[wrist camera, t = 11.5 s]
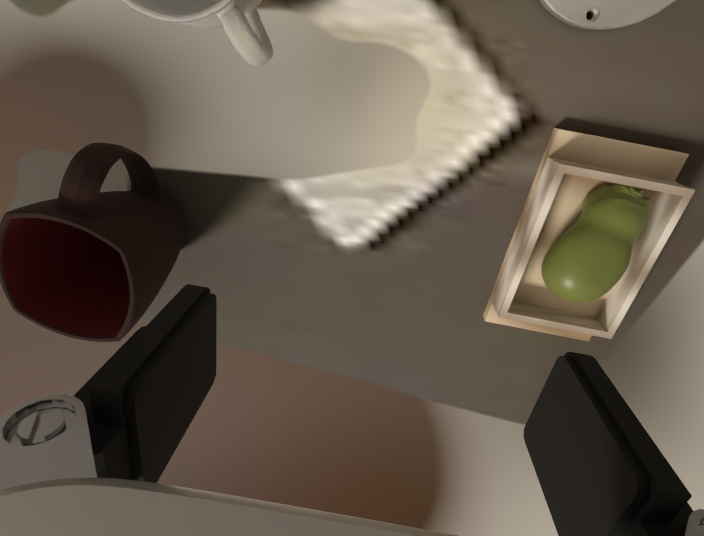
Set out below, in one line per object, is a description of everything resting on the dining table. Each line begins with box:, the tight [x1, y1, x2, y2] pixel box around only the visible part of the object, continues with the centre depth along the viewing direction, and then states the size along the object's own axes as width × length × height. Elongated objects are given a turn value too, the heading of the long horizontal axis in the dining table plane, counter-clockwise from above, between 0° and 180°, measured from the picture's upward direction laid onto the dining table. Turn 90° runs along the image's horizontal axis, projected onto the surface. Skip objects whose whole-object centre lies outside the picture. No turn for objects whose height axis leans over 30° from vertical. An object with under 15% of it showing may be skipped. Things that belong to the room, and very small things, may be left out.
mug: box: [0, 143, 185, 342], centre depth 33 cm, size 10×14×12 cm
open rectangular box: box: [483, 128, 695, 341], centre depth 35 cm, size 18×10×4 cm, turn 170°
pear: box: [541, 184, 651, 303], centre depth 33 cm, size 6×5×10 cm
